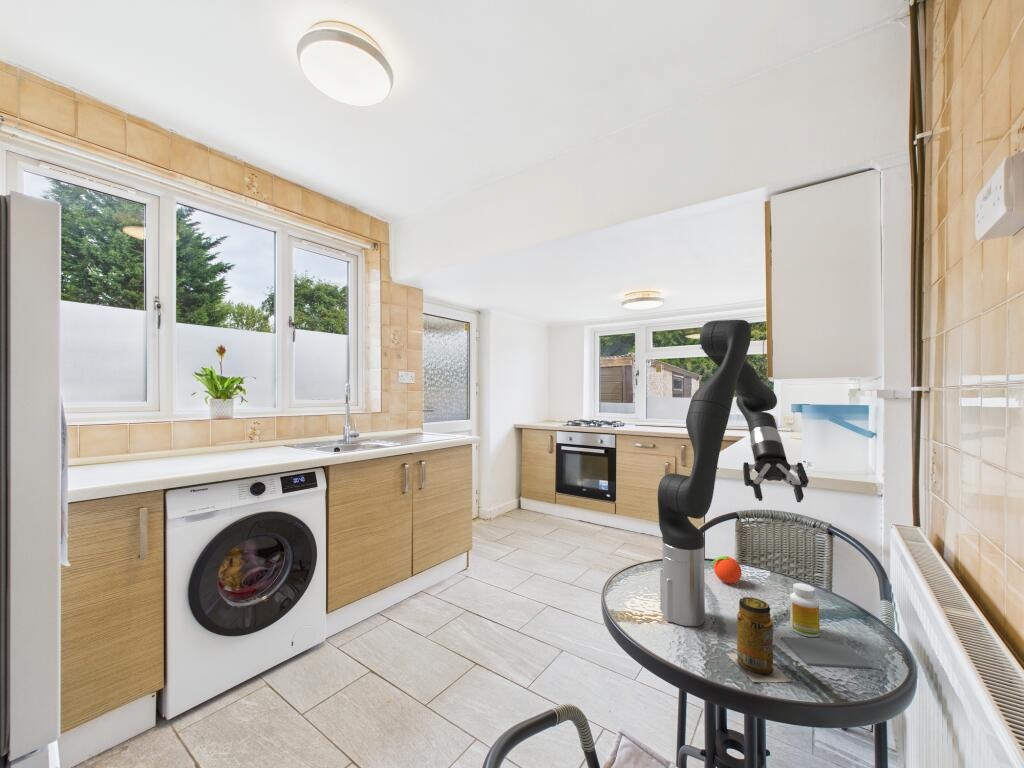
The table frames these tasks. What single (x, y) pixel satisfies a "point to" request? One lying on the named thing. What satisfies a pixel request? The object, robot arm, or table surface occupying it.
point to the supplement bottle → (804, 611)
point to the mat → (825, 652)
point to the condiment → (756, 642)
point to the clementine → (727, 569)
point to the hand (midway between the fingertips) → (779, 500)
